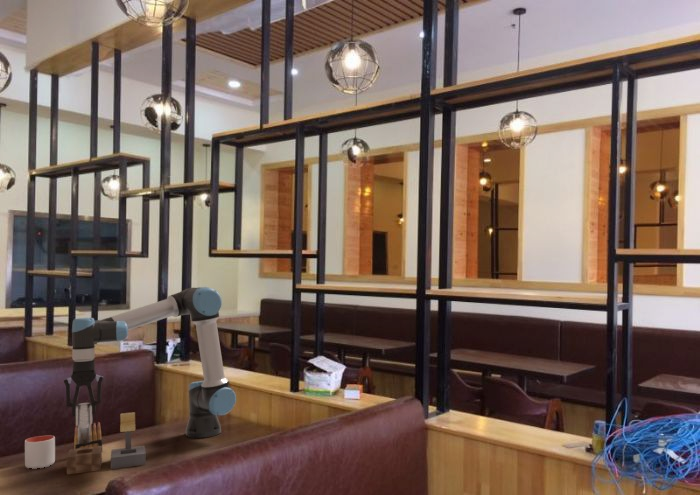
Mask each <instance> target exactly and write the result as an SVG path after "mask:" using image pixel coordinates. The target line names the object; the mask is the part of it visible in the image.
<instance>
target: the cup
mask: <svg viewBox="0 0 700 495" xmlns="http://www.w3.org/2000/svg"><path fill="white" fill-rule="evenodd" d="M55 461H56V437H55V435H51V434H50V435H48V434H47V435H38V436H33V437H29V438H26V439H25V440H24V465H25V466H24V467H25V468H26V469H29V468H32V469H31V470H37V468H40V469H44V467H45V468H48V467H51V466H52V465H54V463H55ZM50 465H51V466H50Z"/></svg>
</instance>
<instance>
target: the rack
mask: <svg viewBox="0 0 700 495" xmlns="http://www.w3.org/2000/svg"><path fill="white" fill-rule="evenodd" d="M102 453H103V445H102V446H95V447H87V448H78V449H74V448H71V449H69V451H68V453H67V454H66V475H75V474H80V473H87V472H88V473H89V472H95V471H97V472H99V471H101V470H102V469H101V467H102V462H103V458H102V457H103V456H102Z"/></svg>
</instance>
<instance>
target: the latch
mask: <svg viewBox="0 0 700 495" xmlns="http://www.w3.org/2000/svg"><path fill="white" fill-rule="evenodd" d="M119 416H120V417H119V419H120V426H119V427H120V429H119V431H120V433H125V432H126V431H131V432H132V431H133V432H134V431H136V412H133V411H132V412H125V413H120V415H119Z"/></svg>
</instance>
